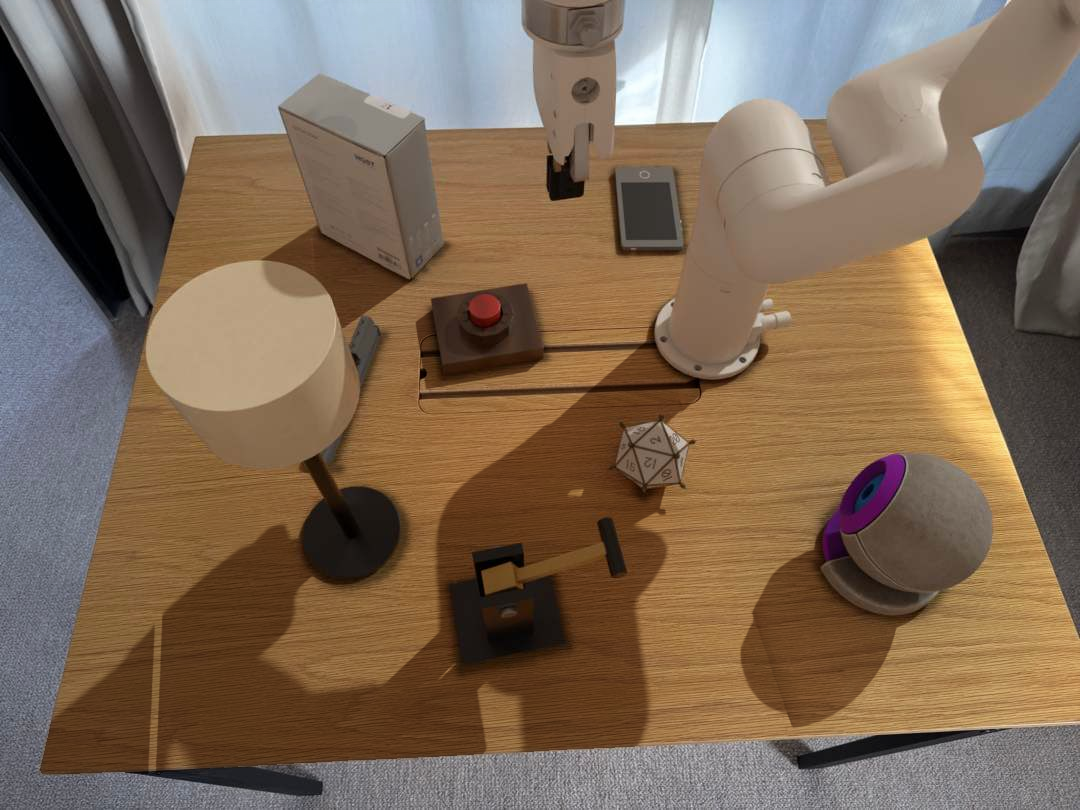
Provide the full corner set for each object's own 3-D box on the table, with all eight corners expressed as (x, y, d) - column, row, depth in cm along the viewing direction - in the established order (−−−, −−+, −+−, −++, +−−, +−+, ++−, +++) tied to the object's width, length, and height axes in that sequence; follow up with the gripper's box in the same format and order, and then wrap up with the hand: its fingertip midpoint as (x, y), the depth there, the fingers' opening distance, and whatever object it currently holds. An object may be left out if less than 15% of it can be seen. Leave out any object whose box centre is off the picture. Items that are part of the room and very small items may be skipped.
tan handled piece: (615, 522, 67) (609, 513, 65) (630, 576, 65) (624, 569, 63) (487, 562, 69) (478, 555, 67) (497, 616, 67) (487, 611, 64)
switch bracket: (547, 568, 79) (549, 520, 68) (565, 646, 74) (570, 608, 64) (450, 587, 77) (436, 542, 66) (463, 668, 73) (450, 633, 62)
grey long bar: (334, 472, 84) (325, 455, 81) (311, 468, 84) (301, 450, 81) (386, 336, 93) (380, 315, 90) (365, 332, 94) (358, 311, 90)
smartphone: (684, 250, 101) (685, 247, 100) (621, 251, 100) (622, 247, 100) (672, 170, 108) (673, 166, 108) (614, 170, 108) (615, 166, 108)
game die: (639, 470, 88) (658, 390, 85) (697, 505, 83) (721, 421, 79) (585, 486, 82) (603, 402, 79) (644, 525, 77) (666, 436, 73)
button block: (527, 294, 97) (526, 273, 93) (543, 358, 92) (543, 338, 88) (432, 309, 96) (428, 288, 92) (444, 375, 91) (440, 356, 87)
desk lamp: (405, 474, 84) (329, 248, 53) (419, 579, 78) (342, 392, 47) (294, 495, 83) (149, 274, 52) (299, 603, 77) (139, 427, 46)
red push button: (497, 301, 92) (497, 291, 90) (503, 324, 90) (502, 315, 88) (467, 305, 91) (466, 296, 90) (472, 329, 90) (471, 320, 88)
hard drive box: (446, 244, 101) (428, 118, 84) (411, 282, 98) (384, 159, 81) (354, 198, 105) (319, 69, 88) (317, 233, 102) (273, 106, 85)
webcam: (841, 476, 84) (896, 406, 71) (958, 532, 81) (1038, 470, 68) (798, 575, 78) (850, 518, 65) (922, 640, 75) (1002, 594, 62)
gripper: (652, 59, 52) (625, 246, 68) (598, -59, 59) (585, 134, 75) (543, 73, 51) (541, 259, 67) (503, -49, 59) (510, 144, 74)
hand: (564, 192), depth 71 cm, fingers closed
